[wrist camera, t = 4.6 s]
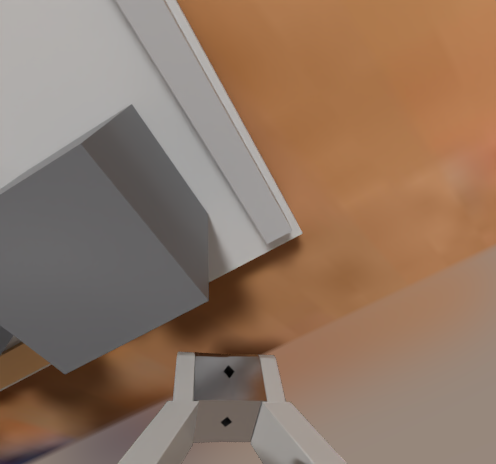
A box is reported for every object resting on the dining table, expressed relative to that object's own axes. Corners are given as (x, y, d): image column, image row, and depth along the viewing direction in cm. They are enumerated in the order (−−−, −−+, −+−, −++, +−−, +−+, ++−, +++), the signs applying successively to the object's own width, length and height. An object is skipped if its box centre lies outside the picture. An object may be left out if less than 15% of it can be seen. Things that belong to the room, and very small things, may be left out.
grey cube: (110, 268, 11) (65, 374, 7) (21, 174, 9) (-93, 253, 6) (208, 214, 10) (208, 300, 7) (131, 103, 9) (80, 143, 5)
